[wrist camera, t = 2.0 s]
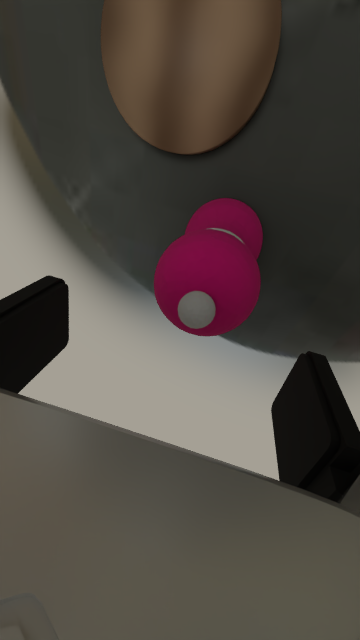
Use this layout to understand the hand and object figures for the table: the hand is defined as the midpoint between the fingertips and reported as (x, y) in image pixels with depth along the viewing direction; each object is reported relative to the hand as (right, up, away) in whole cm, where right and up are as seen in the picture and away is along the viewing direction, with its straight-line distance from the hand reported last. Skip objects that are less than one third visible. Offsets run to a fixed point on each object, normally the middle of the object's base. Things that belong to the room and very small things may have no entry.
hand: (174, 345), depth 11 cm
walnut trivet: (+1, +23, +12) cm, 26 cm away
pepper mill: (+5, +11, +18) cm, 22 cm away
